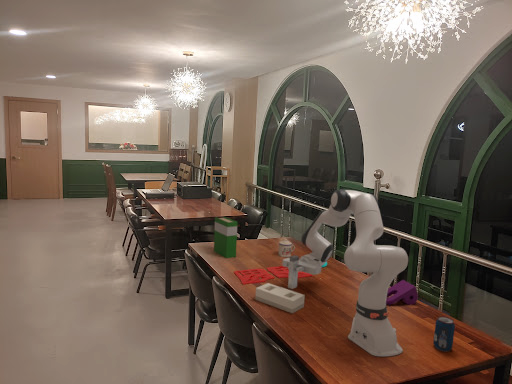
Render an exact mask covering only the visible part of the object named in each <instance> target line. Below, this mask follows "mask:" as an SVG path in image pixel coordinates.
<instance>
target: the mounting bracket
mask: <svg viewBox="0 0 512 384" xmlns="http://www.w3.org/2000/svg"><path fill="white" fill-rule="evenodd" d="M418 298H419V294H418V291H417V287H416V286H415V285H414V284H411V283H410V282H409V281H406V280H405V279H401V280H400V281H398V282H397V283H395V284H394V285H391V286H389V288H388V293H387V299H386V306H387V305H388V306H389V305H393V304H396V303H397V302H398V301H400V300H402V302H403V303H405V304H407V305H410V306H411V305H414V304H416V303H417V301H418Z"/></svg>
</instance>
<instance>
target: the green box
mask: <svg viewBox="0 0 512 384" xmlns="http://www.w3.org/2000/svg"><path fill="white" fill-rule="evenodd" d="M213 233H214V234H213V235H214V237H213V252H215V253H216V254H218V255H220V256H221V257H223V258H225V259H231V258H236V257H237V239H238V221H237V220H234V219H231V218H230V217H226V216H222V217H217V216H216V217H214V232H213Z"/></svg>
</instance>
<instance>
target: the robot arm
mask: <svg viewBox="0 0 512 384" xmlns="http://www.w3.org/2000/svg"><path fill="white" fill-rule="evenodd" d="M352 215H353V217H354V218H353V219H354V222H355V232H356V235H355V239H354V241H353V242H352V243H351V245H350V246H348V247H347V248H346V250H345V252H344V255H343V260H344V264H345V266H346V267H347V269H348V270H350V271H354V272H358V273H372V274H371V275H370V276H369V277H367V278H365V279H363V280H362V281H361V282H360V284H359V287H358V297H357V298H358V299H357V300H356V305H355V310H356V312H355V315H354V317H353V319H352V323H351V327H350V328H351V329H350V332H349V334H348V335H347V338H348V340H350V341H351V342H353V343H354V344H356V345H357V346H358V347H360V348H361V349H362V350H364V351H365V352H367V353H368V354H370V355H371V356H373V357H374V356H375V357H393V356H397V355H398V356H399V355H400V354H401V353H403V350H404V349H403V348H402V347H401V345H400V344H399V343H398V339H397V338H398V337H397V329H396V328H395V327H393V326H392V323H391V321H390V319H389V318H388V317H389V315H390V312H388V309H387V305H386V299H387V293H388V289H389V288H390V287H391V286H390V285H391V284H392V282H393V281H394V279H395V278H396V277H397V276H398V275H399V274H400V273H402V272H404V271H405V269H406V268H407V266H408V264H409V256H408V254H407V251H406V250H405V249H404V248H402V247H400V246H395V245H389V244H388V245H385V244H383V245H381V244H380V245H379V244H375V243H374V241H376V240H378V239H380V237H381V236H383V234H384V230H385V228H384V224H383V223H384V222H383V219H382V216H381V215H382V214H381V211H380V208H379V201H378V198H377V197H376V195H375V194H372V193H367V192H363V191H358V190H354V189H353V190H351V189H343V188H342V189H340V188H339V189H336V190H334V191H333V192H332V193H331V198H330V205H329V207H328V209H323V210H322V211H319V213H318V214H317V216H316V217H315V218H314V219H313V221H312V222H311V224H310V225H309V226H308V228H307V229H306V230H305V231H304V233H303V234H302V235H301V238H300V239H301V244H302V245H304V246H305V247H306V248H308V249H309V250H311V252H310V253H308V254H304V255H302V256H299V263H298V268H297V267H296V268H295V271H296V272H299V271H302V272H306V273H309V274H312V276H315V275H318V274H321V273H322V268H323V267H322V265H324V264H325V263H326V261H327V262H328V261H329V260H330V258H331V257H332V255H333V254H334V245H333V244H332V243H331V242H330V241H328V239H326V238H325V237H324V236H323V235H321V234H320V233H319V232H318V230H319V229H320V228H321V226H323V225H327V226H330V227H333V228H339V227H342V226H344V225H346V224H347V223H348V221H349V219H350V218H351V216H352ZM312 251H313V252H312ZM289 262H290V257H285V258H283V259H282V263H281V266H284V267H288V269H289Z"/></svg>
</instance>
